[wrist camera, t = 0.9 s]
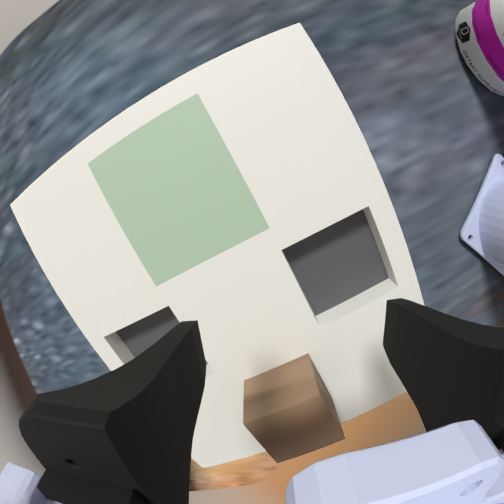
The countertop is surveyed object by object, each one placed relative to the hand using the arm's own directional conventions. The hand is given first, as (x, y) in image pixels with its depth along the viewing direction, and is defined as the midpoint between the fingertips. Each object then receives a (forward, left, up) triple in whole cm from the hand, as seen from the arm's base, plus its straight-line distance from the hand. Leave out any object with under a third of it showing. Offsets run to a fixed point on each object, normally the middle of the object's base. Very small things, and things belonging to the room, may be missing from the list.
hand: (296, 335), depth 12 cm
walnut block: (-6, +8, -8) cm, 13 cm away
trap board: (0, +4, -10) cm, 11 cm away
